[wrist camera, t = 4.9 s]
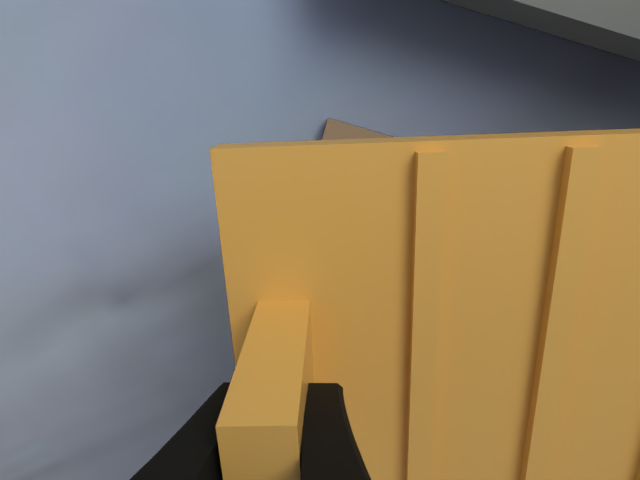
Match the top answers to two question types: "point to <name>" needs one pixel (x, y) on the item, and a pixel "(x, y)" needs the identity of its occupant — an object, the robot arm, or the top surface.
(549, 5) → the parts tub
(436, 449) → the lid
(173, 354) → the top surface
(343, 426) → the robot arm
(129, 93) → the top surface
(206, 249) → the top surface
